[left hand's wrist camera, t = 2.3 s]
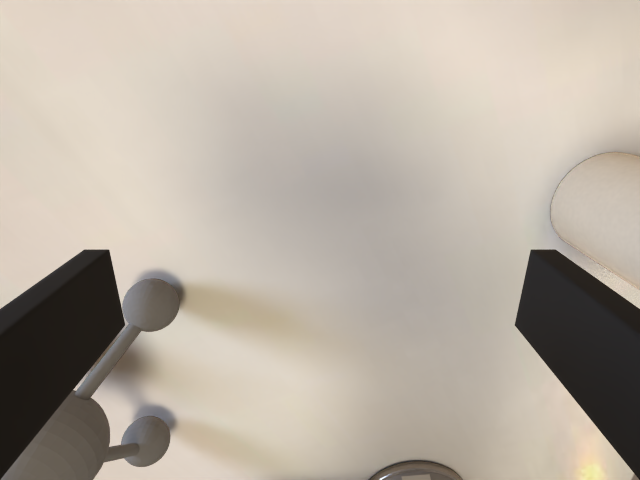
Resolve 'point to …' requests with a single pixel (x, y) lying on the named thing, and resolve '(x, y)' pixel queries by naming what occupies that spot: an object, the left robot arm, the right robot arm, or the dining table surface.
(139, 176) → the dining table surface
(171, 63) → the dining table surface
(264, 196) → the dining table surface
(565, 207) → the jar
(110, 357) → the molecular model
